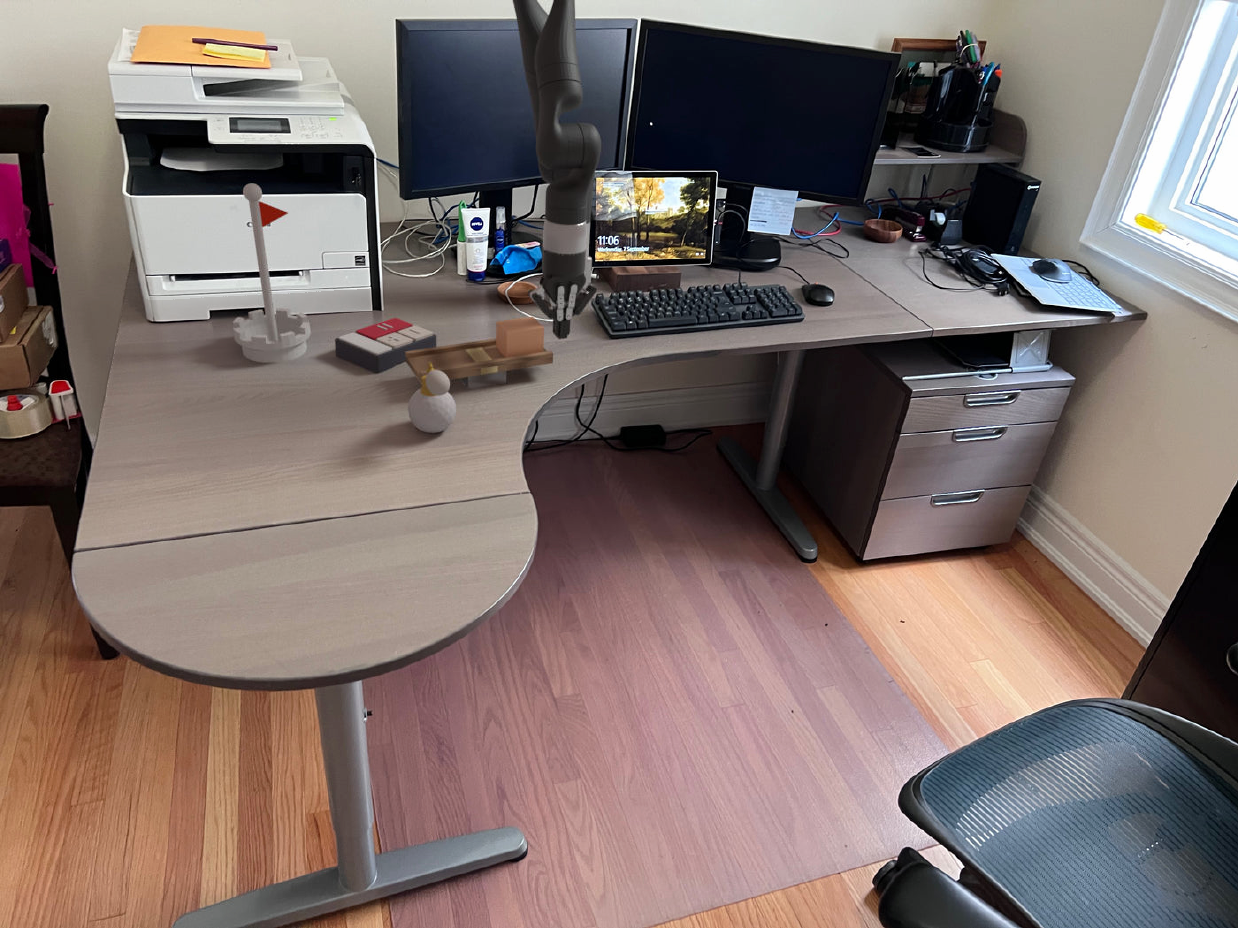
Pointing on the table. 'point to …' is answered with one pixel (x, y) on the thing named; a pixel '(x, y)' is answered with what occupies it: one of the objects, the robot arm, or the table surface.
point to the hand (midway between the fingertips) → (560, 337)
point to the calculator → (383, 344)
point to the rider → (519, 336)
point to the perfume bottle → (432, 403)
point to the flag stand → (268, 302)
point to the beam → (472, 362)
